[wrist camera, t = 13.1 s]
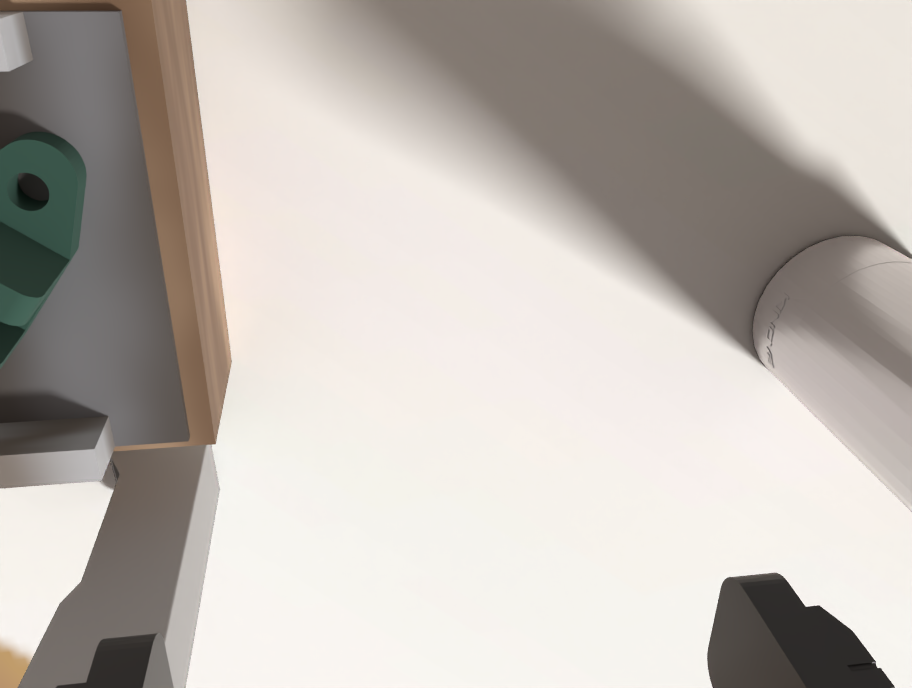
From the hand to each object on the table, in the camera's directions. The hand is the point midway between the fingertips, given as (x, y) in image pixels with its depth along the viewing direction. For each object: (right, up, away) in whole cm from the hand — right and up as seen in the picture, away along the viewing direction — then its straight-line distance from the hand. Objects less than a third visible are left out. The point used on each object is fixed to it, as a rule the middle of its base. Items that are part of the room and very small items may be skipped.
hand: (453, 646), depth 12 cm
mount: (-17, +8, +19) cm, 26 cm away
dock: (-18, +11, +25) cm, 33 cm away
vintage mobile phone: (-16, -2, +33) cm, 36 cm away
